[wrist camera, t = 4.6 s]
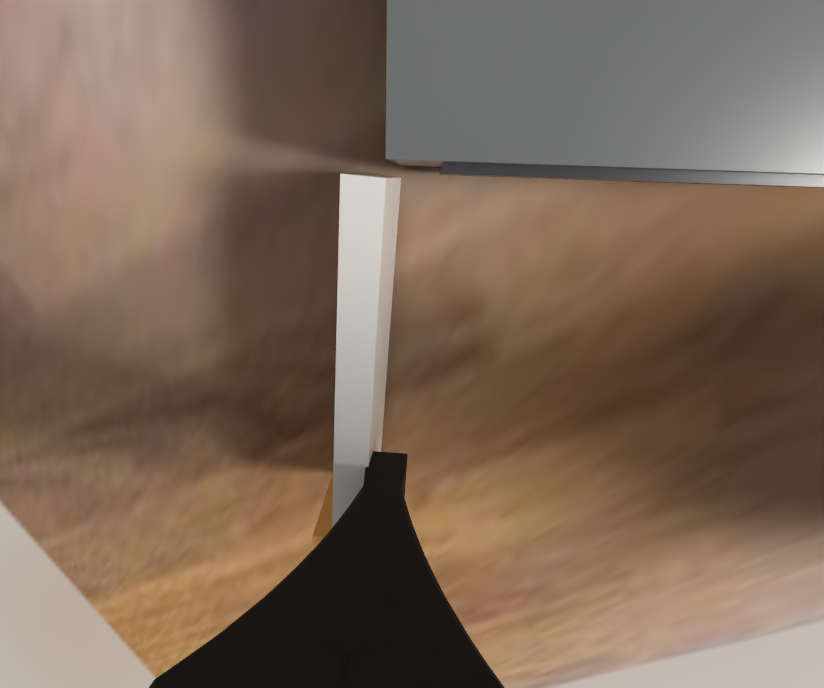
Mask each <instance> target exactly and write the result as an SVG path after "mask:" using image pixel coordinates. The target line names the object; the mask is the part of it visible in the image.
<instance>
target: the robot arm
mask: <svg viewBox="0 0 824 688" xmlns="http://www.w3.org/2000/svg"><path fill="white" fill-rule="evenodd" d="M406 467H407V454H402V453H390V452H377V451H373V453H372V456H371V459H370V463H369V467H365V475H364V484H363V487H362V488H361V490H360V491H359V492H358V494H357V495H356V497H355V498H354V500H353V501H352V503H351V504H350V505H349V507H348V508H347V510H346V511H345V512H344V513H343V515H342V516H341V517H340V518H339V520H338V521H337V522H336V524H335V525H334V526H333V527H332V529H331V530H330V531H329V532H328V533H327V535H326V536H325V537H324V538H323V539H322V540H321V542H320V543H319V544H318V545H317V546H316V547H315V548H314V549H313V550H312V551H311V553H310V554H309V555H308V556H307V557H306V558H305V559H304V560H303V561H302V562H301V563H300V564H299V565H298V566H297V567H296V568H295V569H294V570H293V571H292V572H291V573H290V574H289V575H288V576H287V577H286V578H285V579H283V580H282V581H281V582H280V583H279V584H278V585H277V586H276V587H275V588H274V589H273V590H272V591H271V592H269V593H268V594H267V595H266V596H265V597H264V598H263V599H261V600H260V601H259V602H258V603H257V604H255V605H254V606H253V607H252V608H250V609H249V610H248V611H247V612H246V613H244V614H243V615H242V616H241V617H239V618H238V619H237V620H236V621H235V622H233V623H232V624H231V625H230V626H228V627H227V628H226V629H225V630H223V631H222V632H221V633H219V634H218V635H217V636H216V637H214V638H213V639H212V640H210V641H209V642H207V643H206V644H204V645H203V646H202V647H200V648H199V649H197V650H196V651H195V652H193V653H192V654H190V655H189V656H187V657H186V658H185V659H183V660H182V661H180V662H179V663H178V664H176V665H175V666H173V667H172V668H171V669H169V670H168V671H166V672H165V673H163V674H162V675H160V676H159V677H157V678H156V679H155V680H154V681H153V683H152V684H151V685H150V687H149V688H504V686H503V685H502V684H501V682H500V681H499V679H498V678H497V677H496V675H495V674H494V673H493V671H492V670H491V668H490V667H489V666H488V664H487V663H486V661H485V660H484V658H483V657H482V655H481V654H480V652H479V651H478V649H477V648H476V646H475V645H474V643H473V642H472V640H471V639H470V637H469V636H468V634H467V632H466V631H465V629H464V627H463V626H462V624H461V622H460V621H459V619H458V617H457V616H456V614H455V612H454V611H453V609H452V607H451V606H450V604H449V602H448V601H447V599H446V597H445V595H444V593H443V591H442V590H441V588H440V586H439V584H438V582H437V580H436V578H435V576H434V574H433V572H432V570H431V568H430V566H429V564H428V561H427V559H426V557H425V555H424V552H423V550H422V548H421V545H420V543H419V540H418V538H417V535H416V532H415V530H414V527H413V524H412V521H411V519H410V516H409V512H408V509H407V506H406V502H405V499H404V496H405V481H406Z"/></svg>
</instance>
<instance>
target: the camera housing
mask: <svg viewBox="0 0 824 688" xmlns="http://www.w3.org/2000/svg"><path fill="white" fill-rule="evenodd" d="M385 159H387V160H390V161H392V162H395V163H397V164H400V165H402V166H432V167H440V175H462V176H491V177H520V178H549V179H578V180H607V181H635V182H664V183H693V184H722V185H751V186H785V187H821V188H824V0H387V43H386V158H385Z"/></svg>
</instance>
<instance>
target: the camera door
mask: <svg viewBox="0 0 824 688" xmlns="http://www.w3.org/2000/svg"><path fill="white" fill-rule="evenodd" d="M400 186H401V177H390V176H379V175H366V174H340V206H339V248H338V290H337V332H336V375H335V417H334V459H333V476H332V479H331V482H330V485H329V488H328V491H327V494H326V497H325V500H324V503H323V506H322V509H321V512H320V515H319V518H318V521H317V524H316V527H315V530H314V533H313V549H314V548H315V547H316V546H317V545H318V544H319V543H320V542H321V540H322V539H323V538H324V537H325V536H326V535H327V533H328V532H329V531H330V530H331V529H332V527H333V526H334V525H335V524H336V522H337V521H338V520H339V518H340V517H341V516H342V515H343V513H344V512H345V511H346V510H347V508H348V507H349V505H350V504H351V503H352V501H353V500H354V498H355V497H356V495H357V494H358V492H359V491H360V490H361V488H362V487H363V484H364V475H365V467H369V463H370V459H371V456H372V453H373V451H377V452H381V446H382V432H383V419H384V405H385V391H386V378H387V364H388V350H389V336H390V323H391V309H392V295H393V282H394V268H395V254H396V241H397V227H398V213H399V199H400Z"/></svg>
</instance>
